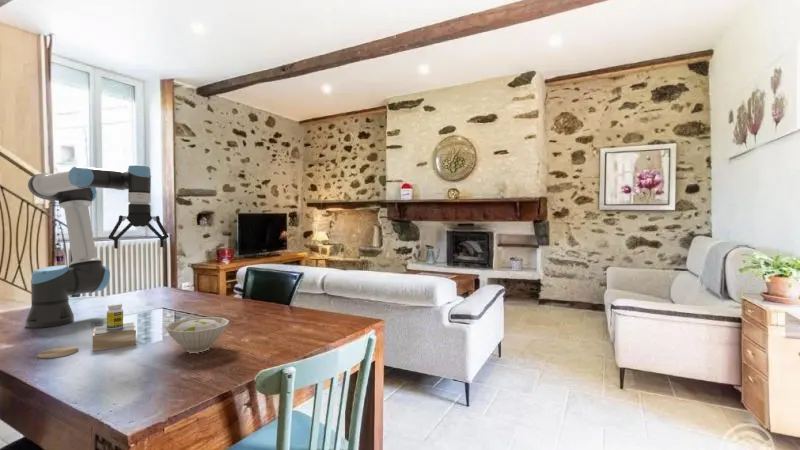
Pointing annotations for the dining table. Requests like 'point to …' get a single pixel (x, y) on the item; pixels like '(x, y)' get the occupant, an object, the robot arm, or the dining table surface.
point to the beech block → (114, 337)
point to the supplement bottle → (115, 316)
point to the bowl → (197, 332)
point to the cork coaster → (57, 352)
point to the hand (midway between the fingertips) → (139, 256)
